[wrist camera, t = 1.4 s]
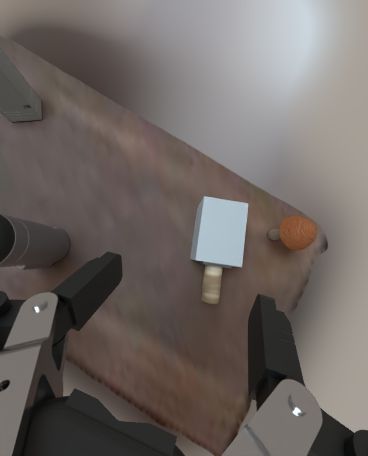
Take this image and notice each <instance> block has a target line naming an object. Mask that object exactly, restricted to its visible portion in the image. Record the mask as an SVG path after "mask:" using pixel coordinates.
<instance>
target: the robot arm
mask: <svg viewBox="0 0 368 456" xmlns="http://www.w3.org/2000/svg"><path fill="white" fill-rule="evenodd" d="M69 246H70V241H69V237H68V236H67V234H66V233H65V232H64V231H63V230H62V229H60V228H57V227H54V226H49V225H45V224H40V223H36V222H32V221H28V220H23V219H19V218H15V217H11V216H6V215H2V214H0V267H11V266H15V267H16V268H18V269H20V270H26V269H35V268H44V267H51V266H52V265H53V263H55V262H57V261H59V260H61V259H62V258H63V257H64V256H65V255H66V254H67V252H68V250H69ZM121 279H122V259H121V255H118V254H115V253H111V252H106V253H105V254H104V255H103V256H102V257H100V258H95V259H93V260H91V261H89V262H87V263H86V264H85V265H84V266H82V267H81V269H79V270H77V271H76V272H75V274H73V275H71V276H70V277H69V278H68V279H66V280H65V281H64V282H63V283H61V284H60V285H59V286H58V287H56V288H55V289H54V290H53V291H51V292H45V293H40V294H37V295H35V296H33V297H31V298H29V299H28V300H9V298H8V296H7V294H6V293H5V292H2V291H0V456H185V455H184V454H183V453H182V452H181V450H180V449H179V448H178V447H177V446H176V445H175V442H176V438H177V437H176V436H174V435H173V434H170V433H168V432H166V431H164V430H162V429H160V428H158V427H156V426H153V425H151V424H148V423H136V422H135V423H134V422H123V421H118V420H117V419H116V418H115V417H114V416H113V415H112V414H111V413H110V412H109V411H108V410H107V409H106V408H105V407H104V406H103V404H102V403H101V402H100V401H99V400H98V399H96V398H94V397H92V396H90V395H88V394H86V393H84V392H81V391H79V390H77V389H74V390H73V392H72V393H71V395H70V396H64V397H63V368H64V361H65V355H66V349H67V342H68V331H69V330H70V329H71V328H72V329H75V330H77V331H80V329H81V328H82V327H83V326H84V325H85V323H86V322H87V321H88V320H89V319H90V318H91V316H92V315H93V314H94V313H95V312H96V310H97V309H98V308H99V307H100V306H101V305H102V303H103V302H104V301H105V300H106V299H107V298H108V296H109V295H110V294H111V293H112V292H113V290H114V289H115V288H116V287H117V286H118V285H119V283H120V281H121ZM294 343H295V342H294V337H293V335H292V329H291V325H290V322H289V320H288V319H287V317H286V315H285V314H284V312H281V311H278V310H276V305H275V300H274V298H271V297H267V296H264V295H260V294H258V295H257V297H256V300H255V302H254V305H253V307H252V310H251V312H250V315H249V320H248V390H249V398H251V399H253V400H256V402H257V412H256V414H255V415H254V416H253V417H252V419H251V420H250V421H249V423H248V424H247V425H246V426H245V427H244V428H243V429H242V430H241V432H240V433H239V434H238V435H237V437H236V438H235V439H234V441H233V442H232V443H231V444H230V446H229V447H228V448H227V449H226V451H225V452H224V453H223V454H222V456H368V430H359V431H357V432H355V433H354V432H352V431H351V430H349V429H348V428H347V427H345V426H344V425H342V424H341V423H340V422H338V421H337V420H335V419H334V418H333V417H331V416H329V415H328V414H327V413H326V412H324V411H323V410H322V409H321V408H320V407H319V404H318V402H317V401H316V399H315V397H314V396H313V395H312V393H311V392H310V391H309V390H308V389H307V388H306V387H305V384H304V381H303V376H302V372H301V368H300V363H299V359H298V355H297V350H296V346H295V344H294Z"/></svg>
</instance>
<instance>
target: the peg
mask: <svg viewBox="0 0 368 456" xmlns="http://www.w3.org/2000/svg"><path fill="white" fill-rule="evenodd" d="M222 270H223V267H219V266H212V265H205V272H204V279H203V287H202V295H201V301H203V302H206V303H210V304H218V303H219V296H220V287H221V279H222Z"/></svg>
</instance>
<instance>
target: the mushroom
mask: <svg viewBox="0 0 368 456" xmlns="http://www.w3.org/2000/svg"><path fill="white" fill-rule="evenodd" d="M316 235H317V229H316V227H315V225H314V224H313V223H312V222H311V221H310V220H308V219H307V218H304V217H301V216H297V215H292V216H289V217H287V218H285V219H284V220H283V222H282V223H281V226H280V230H278V229H272V230H270V231H269V232H268V238H269V239H271V240H278V239H281V240H282V241H283V243H284V244H285V245H286V246H287V247H288V248H290V249H292V250H303V249H305V248H306V247H308V246H309V245H311V244H312V243H313V241H314V240H315V238H316Z"/></svg>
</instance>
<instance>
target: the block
mask: <svg viewBox="0 0 368 456" xmlns="http://www.w3.org/2000/svg"><path fill="white" fill-rule="evenodd" d="M247 212H248V204H247V203H241V202H235V201H229V200H223V199H217V198H211V197H205V196H204V198H203V199H202V201H201V203H200V204H199V206H198V208H197V214H196V221H195V228H194V235H193V242H192V249H191V256H190V259H193V260H197V261H199V262H198V263H201V264H205V265H212V266H219V267H225V268H232V266H238V267H242V261H243V251H244V242H245V232H246V222H247Z"/></svg>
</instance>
